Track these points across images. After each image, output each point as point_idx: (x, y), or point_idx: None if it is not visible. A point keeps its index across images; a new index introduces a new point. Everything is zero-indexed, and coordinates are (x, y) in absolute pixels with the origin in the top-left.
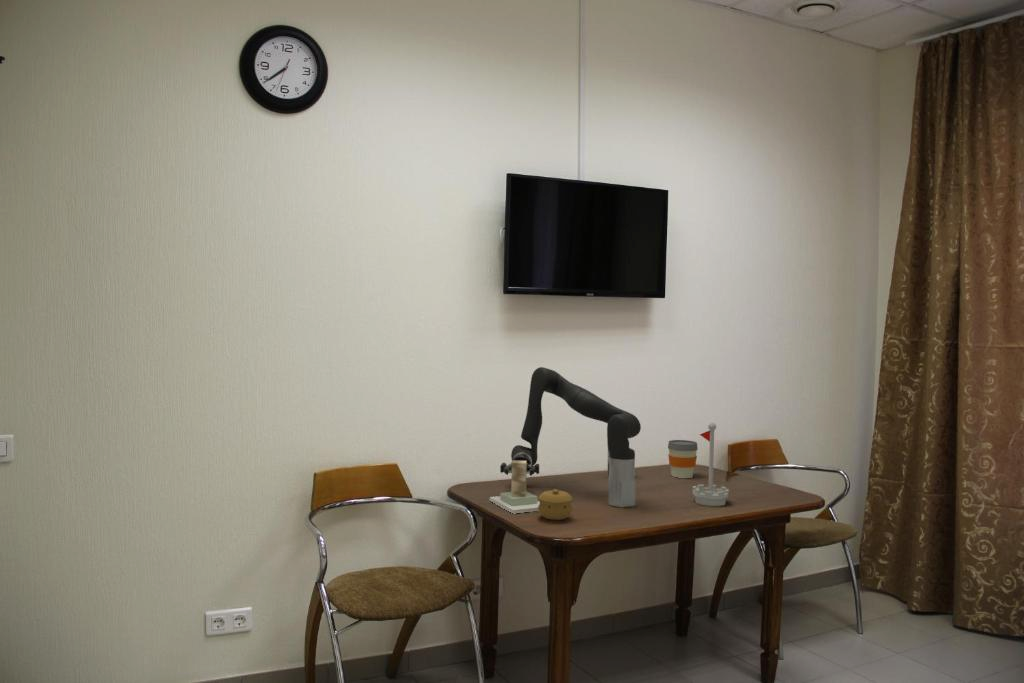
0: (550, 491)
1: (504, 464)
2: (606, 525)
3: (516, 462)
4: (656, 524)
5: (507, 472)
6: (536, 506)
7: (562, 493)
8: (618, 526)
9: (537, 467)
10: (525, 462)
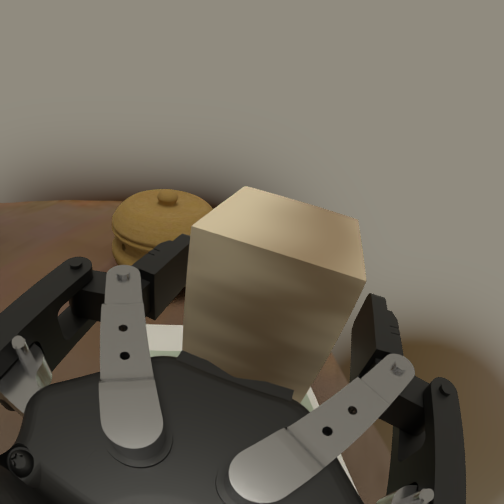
0: (167, 217)
1: (436, 451)
2: (95, 218)
3: (320, 216)
4: (26, 203)
5: (361, 312)
6: (177, 336)
7: (142, 202)
8: (82, 211)
9: (88, 261)
10: (237, 197)
